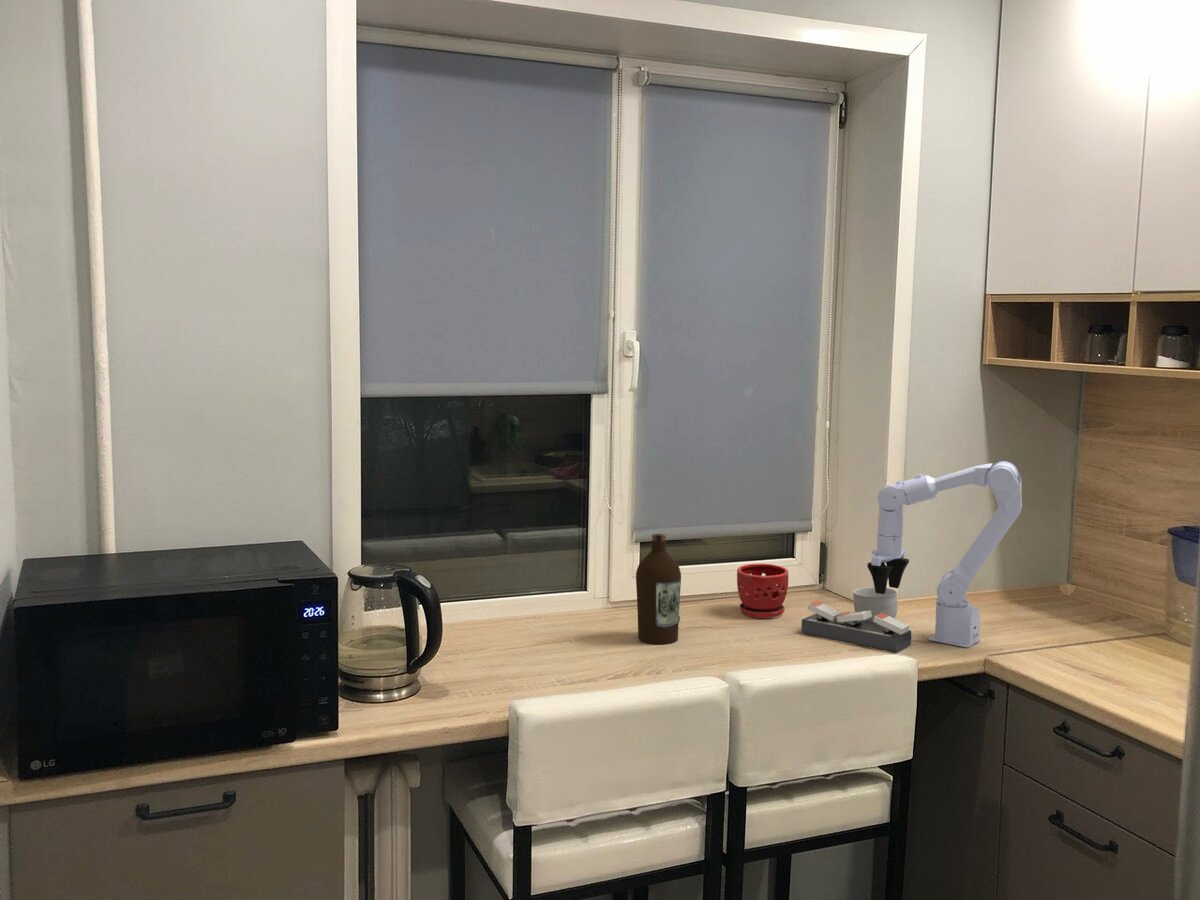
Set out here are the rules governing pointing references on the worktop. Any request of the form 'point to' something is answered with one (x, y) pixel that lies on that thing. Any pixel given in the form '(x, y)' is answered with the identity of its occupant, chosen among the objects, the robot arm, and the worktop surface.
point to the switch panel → (856, 633)
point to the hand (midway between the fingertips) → (887, 590)
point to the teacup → (875, 602)
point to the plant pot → (762, 589)
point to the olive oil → (658, 595)
